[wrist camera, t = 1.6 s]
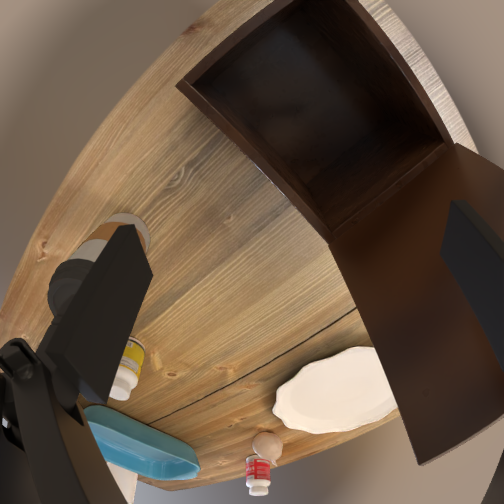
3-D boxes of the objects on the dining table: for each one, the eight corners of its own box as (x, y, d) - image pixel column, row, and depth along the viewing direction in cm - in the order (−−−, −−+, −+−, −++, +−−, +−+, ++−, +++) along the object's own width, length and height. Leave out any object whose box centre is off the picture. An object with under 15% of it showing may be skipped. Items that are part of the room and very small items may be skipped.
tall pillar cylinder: (103, 463, 81) (90, 525, 59) (113, 458, 77) (99, 525, 55) (131, 474, 84) (121, 535, 63) (143, 469, 80) (133, 535, 59)
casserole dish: (219, 448, 69) (218, 473, 63) (171, 465, 77) (168, 486, 70) (84, 383, 55) (73, 410, 49) (57, 411, 63) (49, 433, 57)
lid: (417, 465, 10) (422, 466, 10) (632, 279, 6) (629, 288, 6) (327, 245, 25) (333, 251, 25) (456, 141, 20) (459, 149, 20)
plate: (421, 393, 60) (425, 401, 58) (302, 436, 66) (303, 444, 64) (410, 310, 46) (416, 320, 44) (245, 373, 52) (245, 384, 50)
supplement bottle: (133, 360, 51) (120, 406, 42) (109, 342, 48) (92, 388, 40) (152, 349, 49) (140, 397, 41) (127, 330, 47) (111, 378, 38)
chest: (200, 83, 30) (174, 86, 19) (297, 4, 25) (325, -33, 14) (303, 190, 36) (329, 245, 25) (392, 119, 32) (455, 144, 21)
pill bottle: (251, 452, 70) (252, 490, 61) (273, 455, 71) (275, 491, 62) (242, 460, 73) (242, 495, 63) (263, 462, 74) (264, 497, 65)
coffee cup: (171, 244, 39) (141, 328, 26) (124, 271, 41) (85, 352, 28) (132, 190, 36) (78, 256, 23) (86, 223, 37) (28, 293, 25)
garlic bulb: (254, 440, 66) (255, 469, 59) (250, 428, 63) (251, 460, 56) (282, 437, 66) (284, 467, 59) (280, 426, 63) (283, 457, 56)
